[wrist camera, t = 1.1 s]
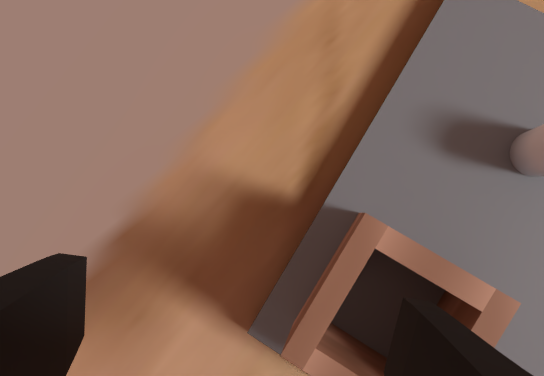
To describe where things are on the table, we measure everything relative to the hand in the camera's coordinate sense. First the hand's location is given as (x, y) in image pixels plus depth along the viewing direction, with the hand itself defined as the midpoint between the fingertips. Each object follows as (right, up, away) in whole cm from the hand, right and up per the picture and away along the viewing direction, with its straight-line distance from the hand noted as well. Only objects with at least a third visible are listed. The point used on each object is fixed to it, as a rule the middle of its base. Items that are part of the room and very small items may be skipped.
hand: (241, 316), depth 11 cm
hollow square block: (+5, -2, +8) cm, 10 cm away
